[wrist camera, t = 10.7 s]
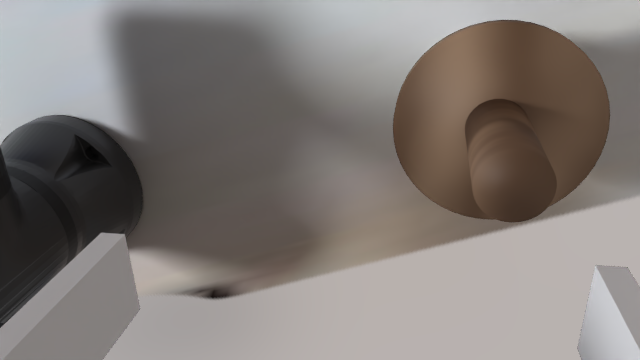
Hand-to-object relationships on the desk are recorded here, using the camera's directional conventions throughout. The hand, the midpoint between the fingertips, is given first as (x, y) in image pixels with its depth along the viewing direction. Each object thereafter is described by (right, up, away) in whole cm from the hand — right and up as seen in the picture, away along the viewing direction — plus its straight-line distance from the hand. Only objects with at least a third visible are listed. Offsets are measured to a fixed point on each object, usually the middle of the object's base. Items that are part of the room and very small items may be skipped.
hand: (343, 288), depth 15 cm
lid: (+10, +6, +17) cm, 21 cm away
